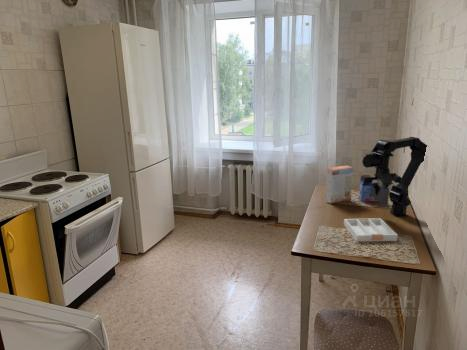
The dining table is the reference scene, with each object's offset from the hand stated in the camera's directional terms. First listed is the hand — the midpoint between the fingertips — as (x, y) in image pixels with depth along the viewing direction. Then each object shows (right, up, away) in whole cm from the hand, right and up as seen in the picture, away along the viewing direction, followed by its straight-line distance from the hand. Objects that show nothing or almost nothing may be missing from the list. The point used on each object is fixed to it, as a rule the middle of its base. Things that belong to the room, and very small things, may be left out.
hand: (379, 194), depth 174 cm
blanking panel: (0, -2, +1) cm, 2 cm away
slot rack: (-10, -17, -12) cm, 23 cm away
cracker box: (-12, -6, +30) cm, 32 cm away
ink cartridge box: (+6, -5, +30) cm, 31 cm away
